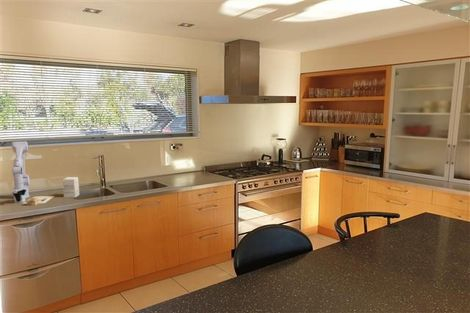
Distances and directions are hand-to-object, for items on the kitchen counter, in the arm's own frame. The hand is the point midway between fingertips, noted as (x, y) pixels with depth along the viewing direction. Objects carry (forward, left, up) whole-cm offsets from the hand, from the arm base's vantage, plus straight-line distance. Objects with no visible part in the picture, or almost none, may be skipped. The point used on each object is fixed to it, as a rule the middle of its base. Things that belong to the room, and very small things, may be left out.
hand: (20, 200), depth 247 cm
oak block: (+12, -9, -1) cm, 15 cm away
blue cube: (0, 0, -1) cm, 1 cm away
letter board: (+11, +4, -1) cm, 12 cm away
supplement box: (+32, +13, -2) cm, 35 cm away
